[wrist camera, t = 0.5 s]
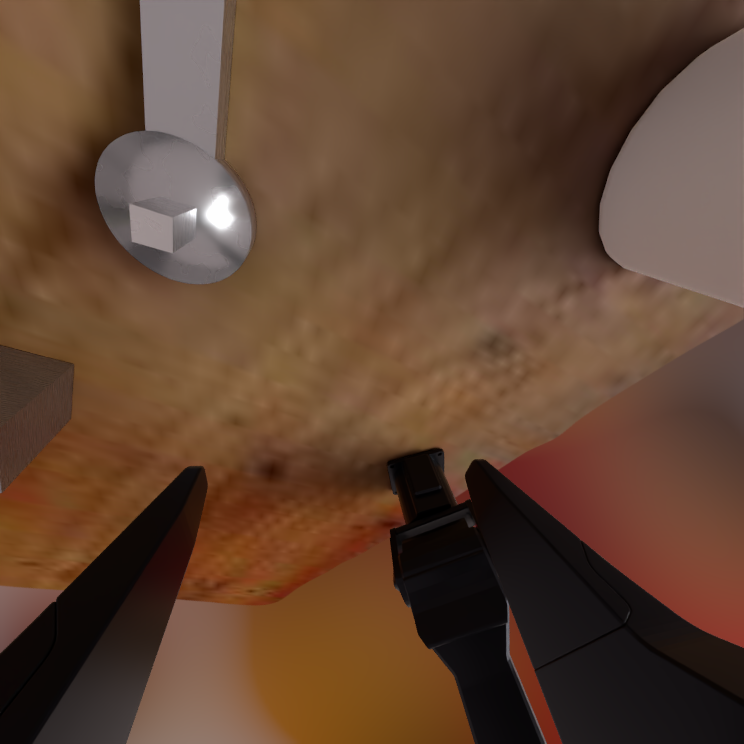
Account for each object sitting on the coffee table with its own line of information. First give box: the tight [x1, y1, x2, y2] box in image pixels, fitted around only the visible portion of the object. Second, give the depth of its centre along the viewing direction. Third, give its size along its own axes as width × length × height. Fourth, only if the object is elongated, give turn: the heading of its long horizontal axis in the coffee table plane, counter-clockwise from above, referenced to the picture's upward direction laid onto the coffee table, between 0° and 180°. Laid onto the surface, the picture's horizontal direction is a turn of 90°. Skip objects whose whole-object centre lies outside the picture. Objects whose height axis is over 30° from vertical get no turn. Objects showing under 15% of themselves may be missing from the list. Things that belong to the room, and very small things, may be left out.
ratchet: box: [95, 0, 257, 284], centre depth 10 cm, size 20×6×5 cm, turn 159°
